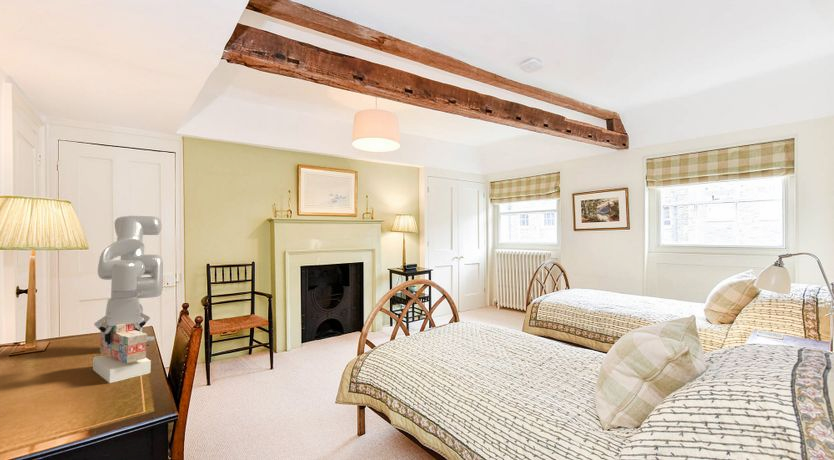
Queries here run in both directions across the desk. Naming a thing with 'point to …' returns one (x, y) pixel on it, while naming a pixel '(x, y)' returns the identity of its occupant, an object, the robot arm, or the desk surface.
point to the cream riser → (120, 368)
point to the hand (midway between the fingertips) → (122, 341)
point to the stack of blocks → (124, 343)
